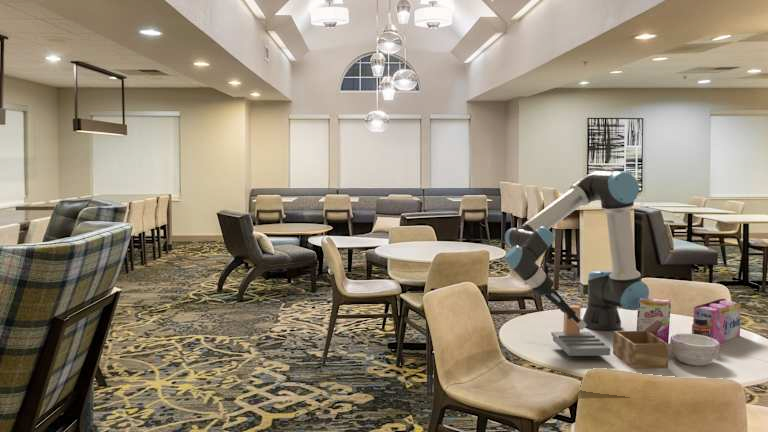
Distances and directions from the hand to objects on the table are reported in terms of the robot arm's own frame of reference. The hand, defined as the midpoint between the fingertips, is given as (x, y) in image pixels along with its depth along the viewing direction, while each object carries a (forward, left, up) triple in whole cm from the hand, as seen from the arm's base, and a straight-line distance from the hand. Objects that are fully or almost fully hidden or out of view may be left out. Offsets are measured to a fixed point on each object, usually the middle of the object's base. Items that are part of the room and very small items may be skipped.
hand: (582, 325), depth 235 cm
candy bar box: (-4, +28, -8) cm, 30 cm away
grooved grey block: (+8, -4, -5) cm, 11 cm away
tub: (+16, +14, -8) cm, 23 cm away
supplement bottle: (+4, +42, -8) cm, 43 cm away
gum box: (-8, +56, -8) cm, 57 cm away
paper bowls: (+18, +32, -8) cm, 38 cm away
